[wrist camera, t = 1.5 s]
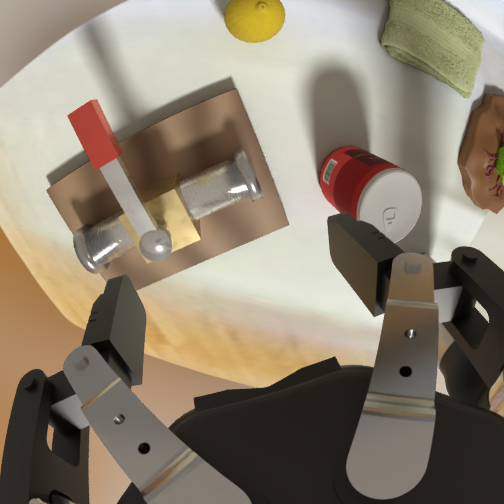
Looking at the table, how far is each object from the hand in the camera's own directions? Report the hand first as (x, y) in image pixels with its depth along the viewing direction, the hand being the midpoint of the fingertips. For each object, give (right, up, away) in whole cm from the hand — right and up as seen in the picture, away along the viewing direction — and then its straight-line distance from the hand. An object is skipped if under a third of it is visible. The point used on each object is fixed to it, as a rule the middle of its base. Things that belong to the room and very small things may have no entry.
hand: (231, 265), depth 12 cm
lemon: (0, +24, +14) cm, 28 cm away
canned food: (+12, +10, +25) cm, 30 cm away
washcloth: (+25, +30, +17) cm, 42 cm away
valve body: (-9, +6, +23) cm, 25 cm away
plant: (+42, +17, +27) cm, 53 cm away
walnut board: (-9, +6, +23) cm, 25 cm away
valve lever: (-10, +6, +11) cm, 16 cm away
